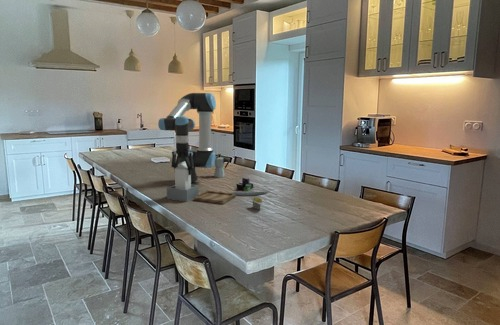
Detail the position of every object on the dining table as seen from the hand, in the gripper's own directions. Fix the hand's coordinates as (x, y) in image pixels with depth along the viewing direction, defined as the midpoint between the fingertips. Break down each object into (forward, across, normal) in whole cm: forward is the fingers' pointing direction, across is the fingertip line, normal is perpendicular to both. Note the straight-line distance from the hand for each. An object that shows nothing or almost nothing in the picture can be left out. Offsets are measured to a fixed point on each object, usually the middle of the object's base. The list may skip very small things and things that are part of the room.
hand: (183, 179), depth 218 cm
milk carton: (+8, 0, 0) cm, 8 cm away
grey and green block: (+12, +50, -3) cm, 52 cm away
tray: (+12, +19, +6) cm, 23 cm away
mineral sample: (+13, +27, +34) cm, 46 cm away
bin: (+11, 0, 0) cm, 12 cm away
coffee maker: (+13, -6, +66) cm, 67 cm away
